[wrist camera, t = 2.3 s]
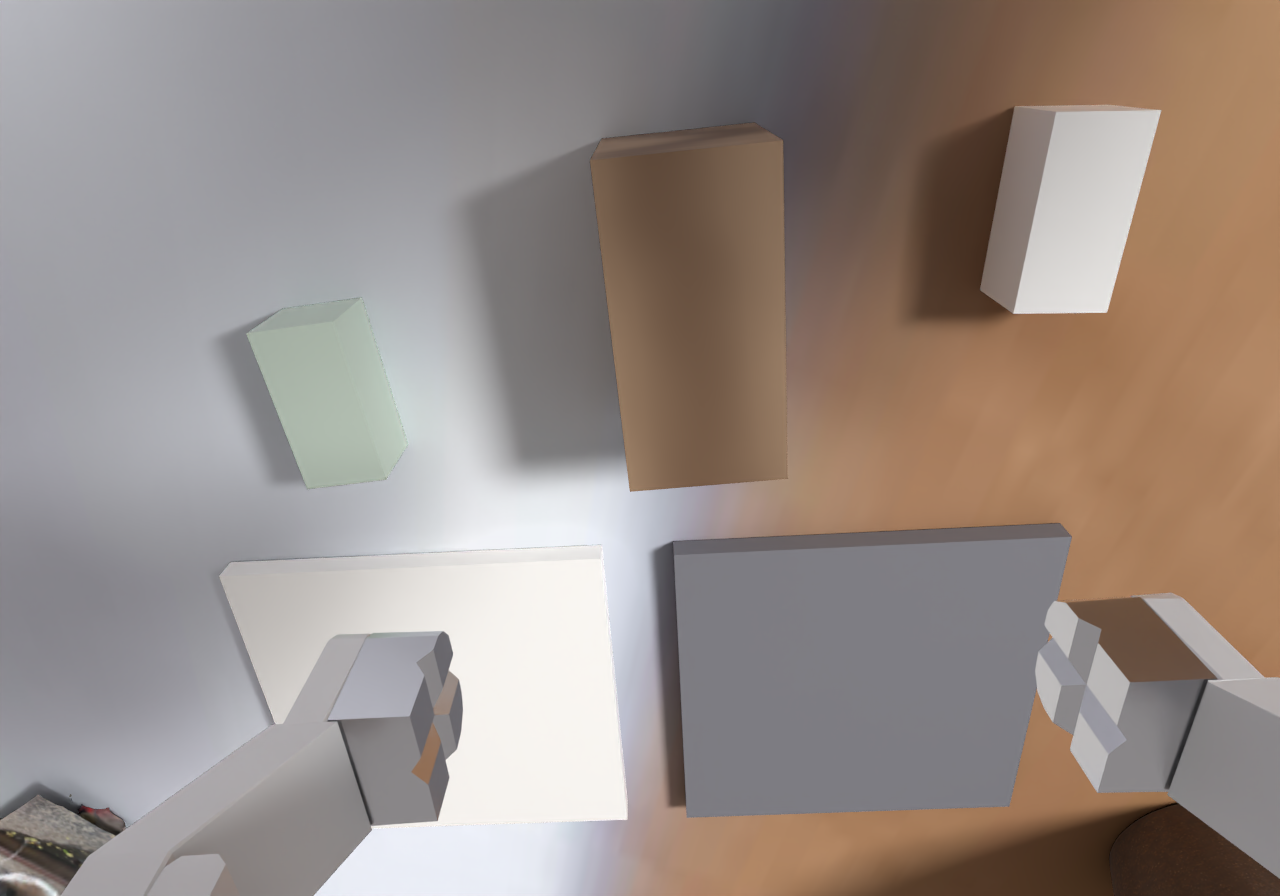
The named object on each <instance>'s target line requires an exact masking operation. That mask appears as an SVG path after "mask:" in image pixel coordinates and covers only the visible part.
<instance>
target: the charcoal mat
mask: <svg viewBox="0 0 1280 896" xmlns="http://www.w3.org/2000/svg"><path fill="white" fill-rule="evenodd" d="M1071 538H1072V536H1071V535H1070V534H1069V533H1068V532H1067V531H1066V530H1065V528H1064V527H1063V526H1062V525H1061V524H1060V523H1054V524H1033V525H1012V526H991V527H969V528H948V529H927V530H905V531H884V532H863V533H841V534H820V535H799V536H778V537H756V538H735V539H714V540H692V541H673V549H674V569H675V590H676V610H677V630H678V650H679V670H680V690H681V711H682V731H683V751H684V771H685V791H686V811H687V818H688V817H717V816H746V815H775V814H804V813H832V812H861V811H890V810H919V809H948V808H976V807H1005V806H1009V805H1010V801H1011V797H1012V792H1013V788H1014V784H1015V779H1016V775H1017V771H1018V766H1019V762H1020V758H1021V753H1022V749H1023V745H1024V741H1025V736H1026V732H1027V728H1028V723H1029V719H1030V715H1031V710H1032V706H1033V702H1034V698H1035V693H1036V689H1037V682H1036V675H1035V668H1036V663H1037V657H1038V651H1039V650H1040V649H1041V648H1042V647H1043V646H1045V645H1046V644H1047V642H1048V637H1049V631H1048V630H1047V628H1046V627H1045V625H1044V624H1045V620H1046V616H1047V611H1048V609H1049V608H1050V606H1051V605H1052V603H1053V602H1054V601H1057V598H1058V594H1059V590H1060V586H1061V581H1062V577H1063V573H1064V568H1065V564H1066V560H1067V555H1068V551H1069V547H1070V542H1071Z"/></svg>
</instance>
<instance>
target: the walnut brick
mask: <svg viewBox="0 0 1280 896" xmlns="http://www.w3.org/2000/svg"><path fill="white" fill-rule="evenodd" d="M590 166H591V174H592V182H593V191H594V199H595V207H596V215H597V224H598V232H599V240H600V248H601V257H602V265H603V273H604V281H605V290H606V298H607V306H608V314H609V323H610V331H611V339H612V347H613V356H614V364H615V372H616V380H617V389H618V397H619V405H620V413H621V422H622V430H623V438H624V446H625V455H626V463H627V471H628V480H629V488H630V492H631V491H643V490H656V489H668V488H680V487H692V486H705V485H717V484H729V483H741V482H754V481H766V480H778V479H788V473H787V396H786V319H785V243H784V166H783V140H782V139H780V138H779V137H777V136H775V135H774V134H772V133H771V132H769V131H767V130H766V129H764V128H763V127H761V126H759V125H758V124H756V123H755V122H754V123H744V124H735V125H725V126H716V127H706V128H697V129H688V130H678V131H669V132H659V133H650V134H640V135H631V136H621V137H612V138H602V139H601V141H600V142H599V144H598V146H597V148H596V150H595V152H594V154H593V156H592V157H591V159H590Z"/></svg>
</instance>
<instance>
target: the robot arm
mask: <svg viewBox="0 0 1280 896" xmlns="http://www.w3.org/2000/svg"><path fill="white" fill-rule="evenodd" d="M1044 625H1045V627H1046V628H1047V630H1048V631H1049V633H1050V634H1051V635H1052V637H1053V638H1052V639H1051V640H1050V641H1049V642H1048V643H1047V644H1046V645H1045V646H1043V647H1042V648H1041V649H1040V650H1039V651H1038V657H1037V663H1036V668H1035V675H1036V682H1037V690H1038V694H1039V696H1040V699H1041V702H1042V704H1043V707H1044V709H1045V710H1046V712H1047V714H1048V715H1049V717H1050V718H1051V720H1052V722H1053V723H1055V724H1056V725H1058V726H1059V727H1061V728H1063V729H1064V730H1066V731H1067V732H1069V733H1070V734H1072V735H1073V739H1072V743H1071V748H1070V750H1071V752H1072V754H1073V755H1074V757H1075V758H1076V760H1077V761H1078V763H1079V765H1080V766H1081V768H1082V769H1083V771H1084V772H1085V774H1086V776H1087V777H1088V779H1089V780H1090V782H1091V783H1092V785H1093V787H1094V788H1095V790H1096V791H1097V793H1108V792H1168V794H1167V795H1168V796H1170V797H1171V798H1172V799H1174V800H1175V801H1176V802H1178V803H1179V804H1180V805H1182V806H1183V807H1184V808H1186V809H1187V810H1188V811H1190V812H1191V813H1192V814H1194V815H1195V816H1196V817H1198V818H1199V819H1200V820H1202V821H1203V822H1204V823H1206V824H1207V825H1208V826H1210V827H1211V828H1212V829H1214V830H1215V831H1216V832H1218V833H1219V834H1220V835H1222V836H1223V837H1224V838H1226V839H1227V840H1228V841H1230V842H1231V843H1233V844H1234V845H1235V846H1237V847H1238V848H1239V849H1241V850H1242V851H1243V852H1245V853H1246V854H1247V855H1249V856H1250V857H1251V858H1253V859H1254V860H1255V861H1257V862H1258V863H1259V864H1261V865H1262V866H1263V867H1265V868H1266V869H1267V870H1269V871H1270V872H1271V873H1273V874H1274V875H1275V876H1277V877H1278V878H1279V879H1280V678H1278V677H1275V678H1265V677H1264V676H1263V675H1261V674H1260V673H1259V672H1258V671H1257V670H1256V669H1255V668H1254V667H1253V666H1252V665H1251V664H1250V663H1249V662H1248V661H1247V660H1246V659H1245V658H1244V657H1243V656H1242V655H1241V654H1240V653H1239V652H1238V651H1237V650H1236V649H1235V648H1234V647H1233V646H1232V645H1231V644H1230V643H1229V642H1228V641H1227V640H1226V639H1225V638H1223V637H1222V636H1221V635H1220V634H1219V633H1218V632H1217V631H1216V630H1215V629H1214V628H1213V627H1212V626H1211V625H1210V624H1209V623H1208V622H1207V621H1206V620H1205V619H1204V618H1203V617H1202V616H1201V615H1200V614H1199V613H1198V612H1197V611H1196V610H1195V609H1194V608H1193V607H1192V606H1191V605H1190V604H1189V603H1188V602H1186V601H1185V600H1184V599H1183V598H1182V597H1180V596H1177V595H1175V594H1173V593H1161V594H1147V595H1134V596H1131V597H1116V598H1098V599H1080V600H1062V601H1054V602H1053V603H1052V605H1051V606H1050V608H1049V609H1048V611H1047V616H1046V620H1045V624H1044ZM452 657H453V651H452V647H451V643H450V639H449V635H448V634H446V633H445V632H444V631H425V632H388V633H372V634H339V635H336V636H334V637H333V638H331V639H330V640H329V641H328V642H327V644H326V646H325V647H324V649H323V651H322V653H321V655H320V657H319V659H318V660H317V662H316V664H315V666H314V668H313V670H312V671H311V673H310V675H309V677H308V679H307V681H306V682H305V684H304V686H303V688H302V690H301V692H300V694H299V695H298V697H297V699H296V701H295V703H294V705H293V706H292V708H291V710H290V712H289V714H288V716H287V717H286V719H285V721H284V723H283V724H272V725H270V726H269V727H268V728H266V729H265V730H263V731H262V732H261V733H259V734H258V735H256V736H255V737H254V738H252V739H251V740H250V741H248V742H247V743H245V744H244V745H243V746H241V747H240V748H238V749H237V750H236V751H234V752H233V753H231V754H230V755H229V756H227V757H226V758H224V759H223V760H222V761H220V762H219V763H217V764H216V765H215V766H213V767H212V768H210V769H209V770H208V771H206V772H205V773H203V774H202V775H201V776H199V777H198V778H196V779H195V780H194V781H192V782H191V783H189V784H188V785H187V786H185V787H184V788H182V789H181V790H180V791H178V792H177V793H176V794H174V795H173V796H171V797H170V798H169V799H167V800H166V801H164V802H163V803H162V804H160V805H159V806H157V807H156V808H155V809H153V810H152V811H150V812H149V813H148V814H146V815H145V816H143V817H142V818H141V819H139V820H138V821H136V822H135V823H134V824H132V825H131V826H129V827H128V828H127V829H125V830H124V831H122V832H121V833H120V834H118V835H117V836H115V837H114V838H113V839H111V840H110V841H109V842H107V843H106V844H104V845H103V846H102V847H100V848H99V849H97V850H96V851H95V852H93V853H92V854H90V855H89V856H88V857H87V858H86V860H85V861H84V863H83V864H82V866H81V867H80V868H79V870H78V871H77V873H76V874H75V876H74V877H73V878H72V880H71V881H70V883H69V884H68V886H67V887H66V889H65V890H64V891H63V893H62V894H61V896H314V894H315V893H316V892H317V891H318V890H319V889H320V888H321V887H322V885H323V884H324V883H325V882H326V881H327V880H328V879H329V878H330V876H331V875H332V874H333V873H334V872H335V871H336V870H337V869H338V867H339V866H340V865H341V864H342V863H343V862H344V861H345V860H346V858H347V857H348V856H349V855H350V854H351V853H352V852H353V851H354V849H355V848H356V847H357V846H358V845H359V844H360V843H361V842H362V840H363V839H364V838H365V837H366V836H367V835H368V834H369V833H370V832H371V830H372V828H371V826H378V825H392V824H405V823H419V822H433V821H438V818H439V814H440V811H441V807H442V803H443V800H444V796H445V792H446V789H447V785H448V781H449V773H448V769H447V764H446V759H447V758H448V757H449V756H451V755H452V754H453V753H454V752H455V751H456V750H457V747H458V743H459V739H460V735H461V729H462V716H463V703H462V692H461V687H460V682H459V679H458V678H457V677H456V676H455V675H454V674H452V673H451V672H450V671H449V667H450V664H451V660H452Z"/></svg>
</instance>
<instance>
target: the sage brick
mask: <svg viewBox="0 0 1280 896" xmlns="http://www.w3.org/2000/svg"><path fill="white" fill-rule="evenodd" d="M246 335H247V337H248V340H249V342H250V345H251V347H252V350H253V352H254V355H255V358H256V360H257V363H258V365H259V368H260V370H261V373H262V375H263V378H264V380H265V383H266V386H267V388H268V391H269V393H270V396H271V398H272V401H273V403H274V406H275V409H276V411H277V414H278V416H279V419H280V421H281V424H282V426H283V429H284V431H285V434H286V437H287V439H288V442H289V444H290V447H291V449H292V452H293V454H294V457H295V460H296V462H297V465H298V467H299V470H300V472H301V475H302V477H303V480H304V482H305V485H306V488H307V489H314V488H323V487H331V486H339V485H347V484H355V483H363V482H371V481H379V480H387V478H388V476H389V475H390V473H391V471H392V470H393V468H394V467H395V465H396V463H397V462H398V460H399V459H400V457H401V455H402V454H403V452H404V451H405V449H406V447H407V446H408V442H407V439H406V436H405V433H404V430H403V426H402V423H401V420H400V417H399V414H398V410H397V407H396V404H395V401H394V398H393V395H392V391H391V388H390V385H389V382H388V379H387V375H386V372H385V369H384V366H383V363H382V360H381V356H380V353H379V350H378V347H377V344H376V340H375V337H374V334H373V331H372V328H371V325H370V321H369V318H368V315H367V312H366V309H365V306H364V302H363V299H362V297H361V298H354V299H347V300H340V301H333V302H326V303H319V304H312V305H305V306H298V307H291V308H284V309H281V310H280V311H278V312H277V313H275V314H274V315H272V316H271V317H269V318H268V319H267V320H265V321H264V322H262V323H261V324H259V325H258V326H256V327H255V328H253V329H252V330H251V331H249V332H248V333H246Z"/></svg>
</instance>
